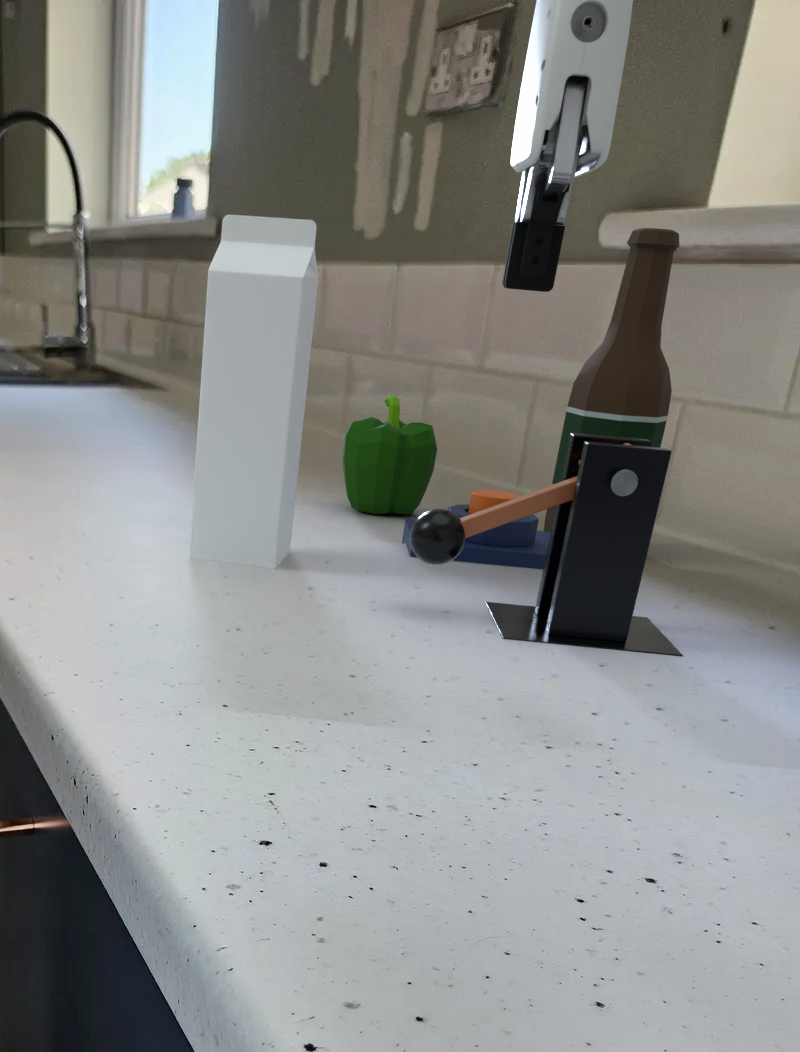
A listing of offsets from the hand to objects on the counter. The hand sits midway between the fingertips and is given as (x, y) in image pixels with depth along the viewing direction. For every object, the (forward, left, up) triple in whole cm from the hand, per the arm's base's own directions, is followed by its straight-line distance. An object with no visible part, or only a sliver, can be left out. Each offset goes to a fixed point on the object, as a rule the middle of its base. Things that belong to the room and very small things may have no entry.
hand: (526, 289), depth 76 cm
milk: (+17, +8, -19) cm, 27 cm away
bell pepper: (+6, -20, -19) cm, 29 cm away
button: (-1, -1, -16) cm, 16 cm away
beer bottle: (-11, -12, -19) cm, 25 cm away
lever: (0, +19, -13) cm, 23 cm away
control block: (-1, -1, -19) cm, 19 cm away
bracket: (-4, +19, -19) cm, 27 cm away
